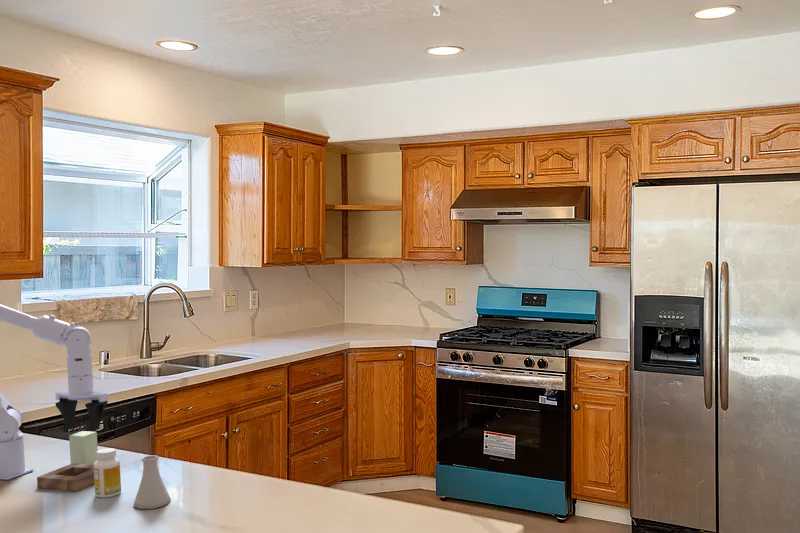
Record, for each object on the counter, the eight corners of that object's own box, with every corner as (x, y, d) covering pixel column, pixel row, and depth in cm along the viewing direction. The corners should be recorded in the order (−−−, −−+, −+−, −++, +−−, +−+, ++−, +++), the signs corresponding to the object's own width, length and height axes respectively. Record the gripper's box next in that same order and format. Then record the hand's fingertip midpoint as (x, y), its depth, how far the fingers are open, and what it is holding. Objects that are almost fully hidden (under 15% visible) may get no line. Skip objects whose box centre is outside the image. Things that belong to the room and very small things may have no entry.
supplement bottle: (125, 490, 170) (123, 446, 170) (114, 498, 165) (112, 453, 165) (102, 490, 171) (100, 447, 171) (90, 498, 166) (88, 453, 165)
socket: (37, 487, 174) (36, 477, 174) (73, 473, 185) (72, 463, 184) (75, 491, 170) (75, 480, 170) (110, 476, 181) (109, 466, 181)
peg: (70, 467, 190) (69, 435, 190) (83, 462, 194) (82, 430, 194) (85, 468, 189) (83, 436, 188) (98, 463, 193) (96, 431, 193)
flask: (177, 499, 163) (175, 453, 162) (155, 511, 156) (153, 463, 155) (148, 497, 165) (146, 451, 165) (126, 508, 158) (124, 461, 158)
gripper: (114, 373, 192) (117, 426, 192) (69, 371, 197) (71, 423, 197) (94, 378, 185) (97, 433, 186) (47, 376, 190) (50, 430, 191)
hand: (83, 429), depth 191 cm, fingers open, 7 cm apart
